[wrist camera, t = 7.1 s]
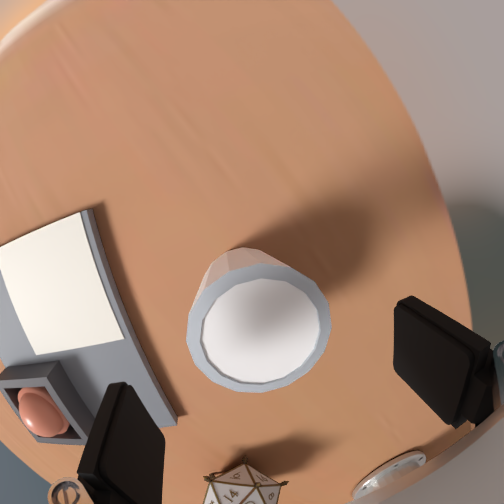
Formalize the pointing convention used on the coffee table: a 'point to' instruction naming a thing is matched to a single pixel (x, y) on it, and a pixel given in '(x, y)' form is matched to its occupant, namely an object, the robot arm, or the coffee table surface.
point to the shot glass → (256, 322)
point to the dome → (41, 412)
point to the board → (69, 327)
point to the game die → (242, 487)
